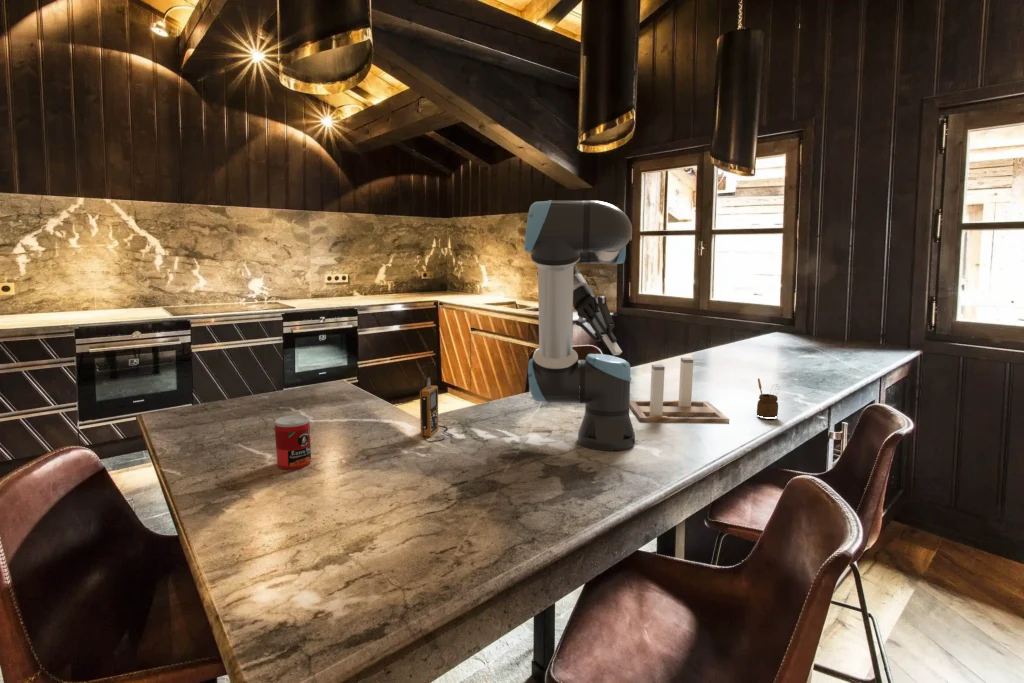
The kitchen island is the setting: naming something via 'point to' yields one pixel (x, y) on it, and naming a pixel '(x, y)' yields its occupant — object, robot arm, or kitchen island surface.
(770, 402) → the utensil holder
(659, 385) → the white rectangular block
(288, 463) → the canned food
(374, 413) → the kitchen island surface
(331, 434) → the kitchen island surface
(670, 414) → the wooden compartment tray
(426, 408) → the multimeter
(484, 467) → the kitchen island surface
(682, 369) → the tall white block
